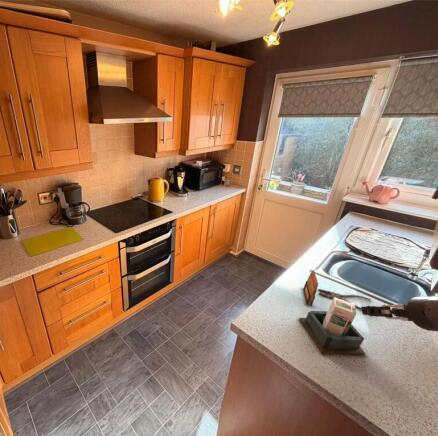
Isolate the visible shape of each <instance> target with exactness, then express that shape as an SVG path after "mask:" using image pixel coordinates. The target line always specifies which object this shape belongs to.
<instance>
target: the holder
mask: <svg viewBox="0 0 438 436" xmlns="http://www.w3.org/2000/svg"><path fill="white" fill-rule="evenodd" d="M327 312H328V310H310V311H308V312H307V314H306V317H299V319H298V321H299V322H300V324H301V325H302V327H303V328H304V330H305V332H306V333H307V334H308V336H309V338H310V339H311V340H312V342H313V343H314V345H315V346H316V348H317V349H318V350H319V352H320V354H323V355H344V356H345V355H346V356H347V355H348V356H349V355H350V356H365V355H366V352H365V351H364V350H363V348H361V345H362V343H363V342H364V340H365V338H364V337H363V335H362V334H361V333H360V332H359V331H358V329H356V327H355V326H353V324H352V323H351V325H350V327H349V329H348V331H347V333H346V335H345V336H330V335H329V334H328V333H327V331H326V330H325V329H324V327H323V326H322V323H323V321H324V319H325V316H326V314H327Z"/></svg>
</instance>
